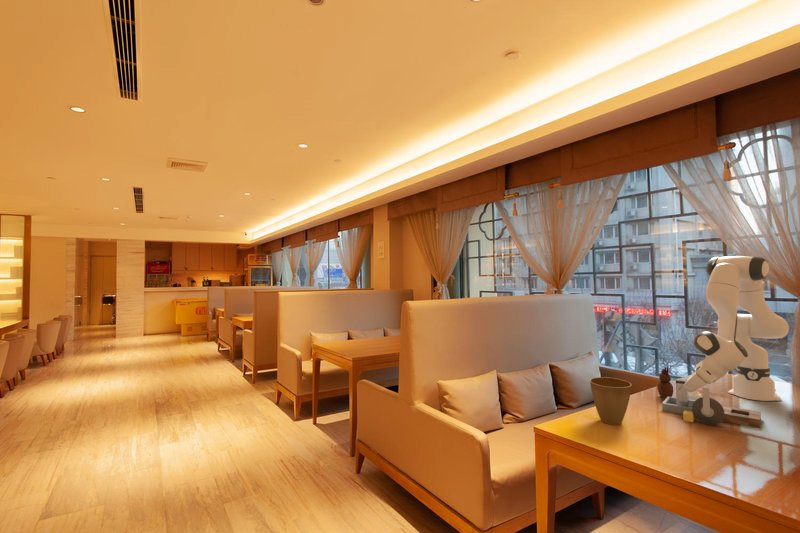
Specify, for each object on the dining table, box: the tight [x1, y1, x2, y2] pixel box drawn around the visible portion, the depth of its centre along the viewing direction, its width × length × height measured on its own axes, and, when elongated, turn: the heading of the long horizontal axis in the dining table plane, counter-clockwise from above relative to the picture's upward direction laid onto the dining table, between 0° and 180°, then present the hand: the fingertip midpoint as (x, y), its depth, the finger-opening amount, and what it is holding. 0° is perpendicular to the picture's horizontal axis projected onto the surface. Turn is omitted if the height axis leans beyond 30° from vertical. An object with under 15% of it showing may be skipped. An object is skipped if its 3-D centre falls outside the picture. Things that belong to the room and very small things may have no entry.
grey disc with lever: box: [682, 385, 724, 426], centre depth 159 cm, size 7×13×15 cm, turn 47°
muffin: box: [689, 389, 702, 401], centre depth 184 cm, size 6×6×7 cm
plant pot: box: [589, 376, 632, 426], centre depth 162 cm, size 15×15×16 cm
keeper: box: [721, 405, 762, 428], centre depth 162 cm, size 12×12×3 cm
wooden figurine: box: [657, 366, 674, 399], centre depth 193 cm, size 7×6×15 cm
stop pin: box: [675, 378, 689, 407], centre depth 175 cm, size 4×4×12 cm
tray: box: [661, 396, 695, 415], centre depth 175 cm, size 13×13×3 cm
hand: (680, 391), depth 175 cm, fingers open, 8 cm apart
